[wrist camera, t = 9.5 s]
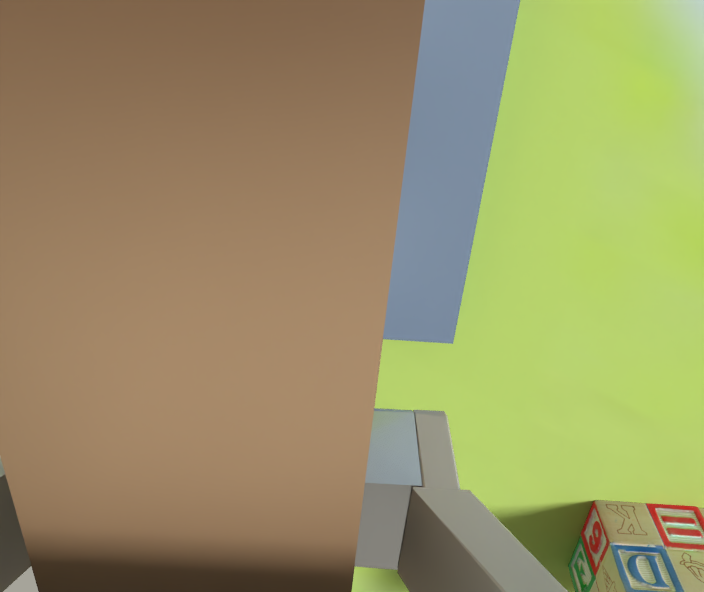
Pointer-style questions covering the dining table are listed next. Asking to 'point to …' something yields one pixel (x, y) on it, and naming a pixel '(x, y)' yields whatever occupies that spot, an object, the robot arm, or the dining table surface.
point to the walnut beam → (196, 283)
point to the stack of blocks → (640, 549)
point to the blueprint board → (446, 162)
